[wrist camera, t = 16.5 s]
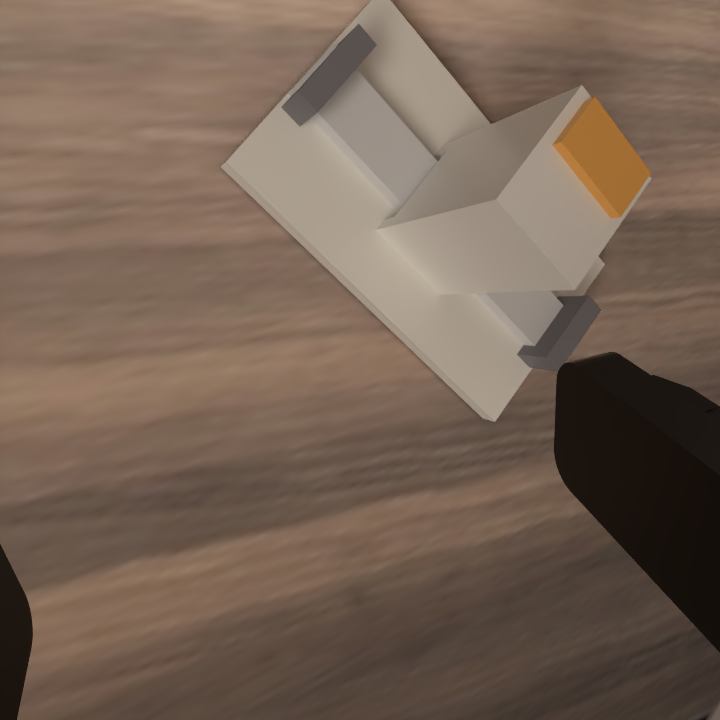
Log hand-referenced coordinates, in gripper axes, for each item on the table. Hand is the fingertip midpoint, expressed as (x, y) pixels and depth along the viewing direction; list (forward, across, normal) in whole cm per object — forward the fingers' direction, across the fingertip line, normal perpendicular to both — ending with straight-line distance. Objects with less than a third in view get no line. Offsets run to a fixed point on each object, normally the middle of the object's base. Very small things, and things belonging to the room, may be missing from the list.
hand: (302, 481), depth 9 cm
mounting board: (+25, -12, +5) cm, 28 cm away
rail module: (+24, -12, +4) cm, 27 cm away
